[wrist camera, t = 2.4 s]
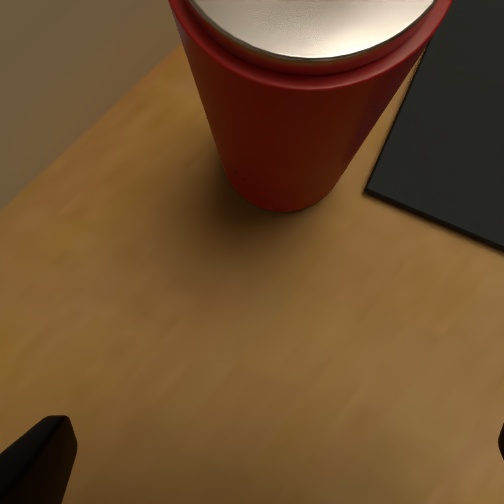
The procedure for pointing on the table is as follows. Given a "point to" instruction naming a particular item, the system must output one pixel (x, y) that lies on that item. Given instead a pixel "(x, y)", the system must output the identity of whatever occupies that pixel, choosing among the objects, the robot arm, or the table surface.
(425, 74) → the desk mat
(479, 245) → the table surface
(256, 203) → the red can
